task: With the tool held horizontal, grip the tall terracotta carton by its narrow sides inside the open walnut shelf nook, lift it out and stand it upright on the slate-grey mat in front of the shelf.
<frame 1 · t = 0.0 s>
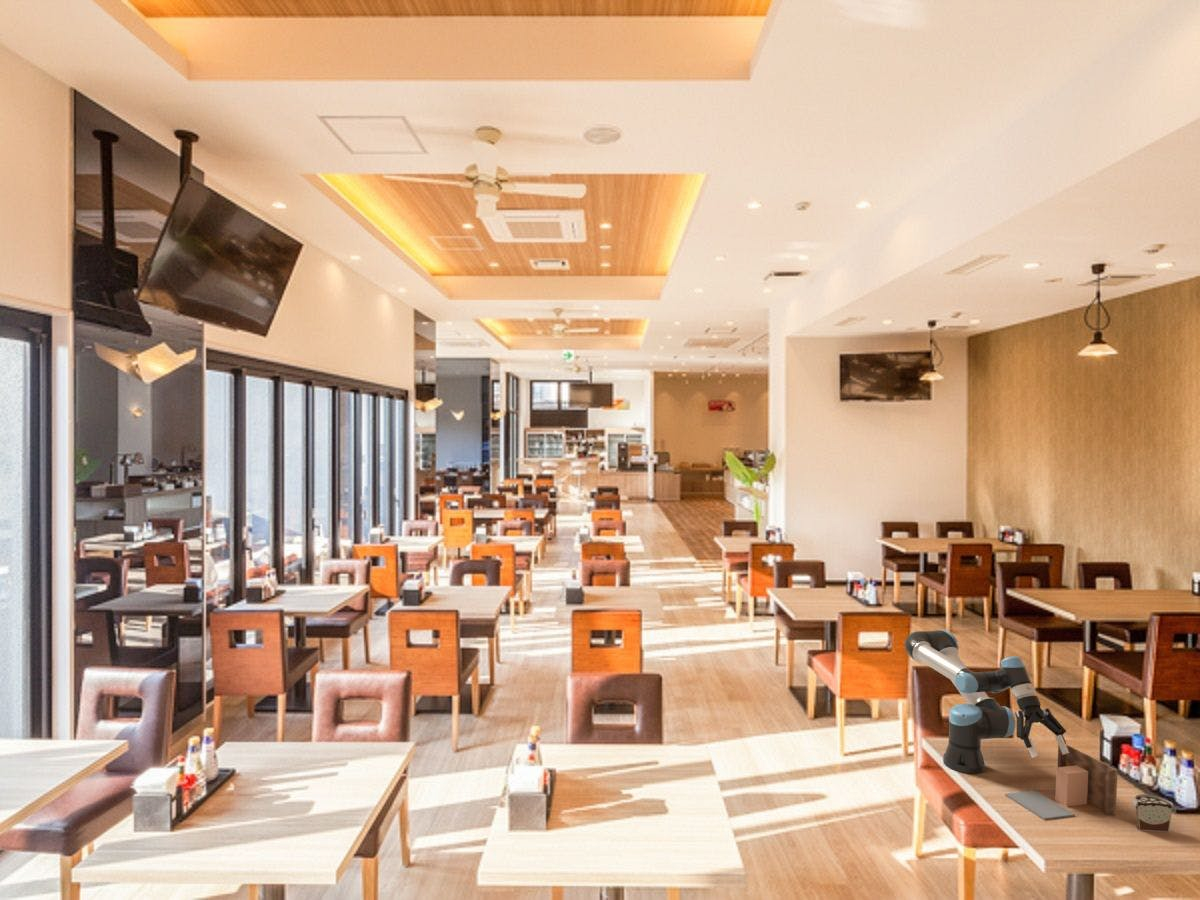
hand: (1050, 755, 284), 15 cm above the table, tool tilted 35°, fingers open, 13 cm apart
slate mat: (1039, 805, 277), on the table
shelf nook: (1086, 778, 281), on the table
food container: (1148, 827, 264), on the table
carton: (1071, 801, 280), on the table
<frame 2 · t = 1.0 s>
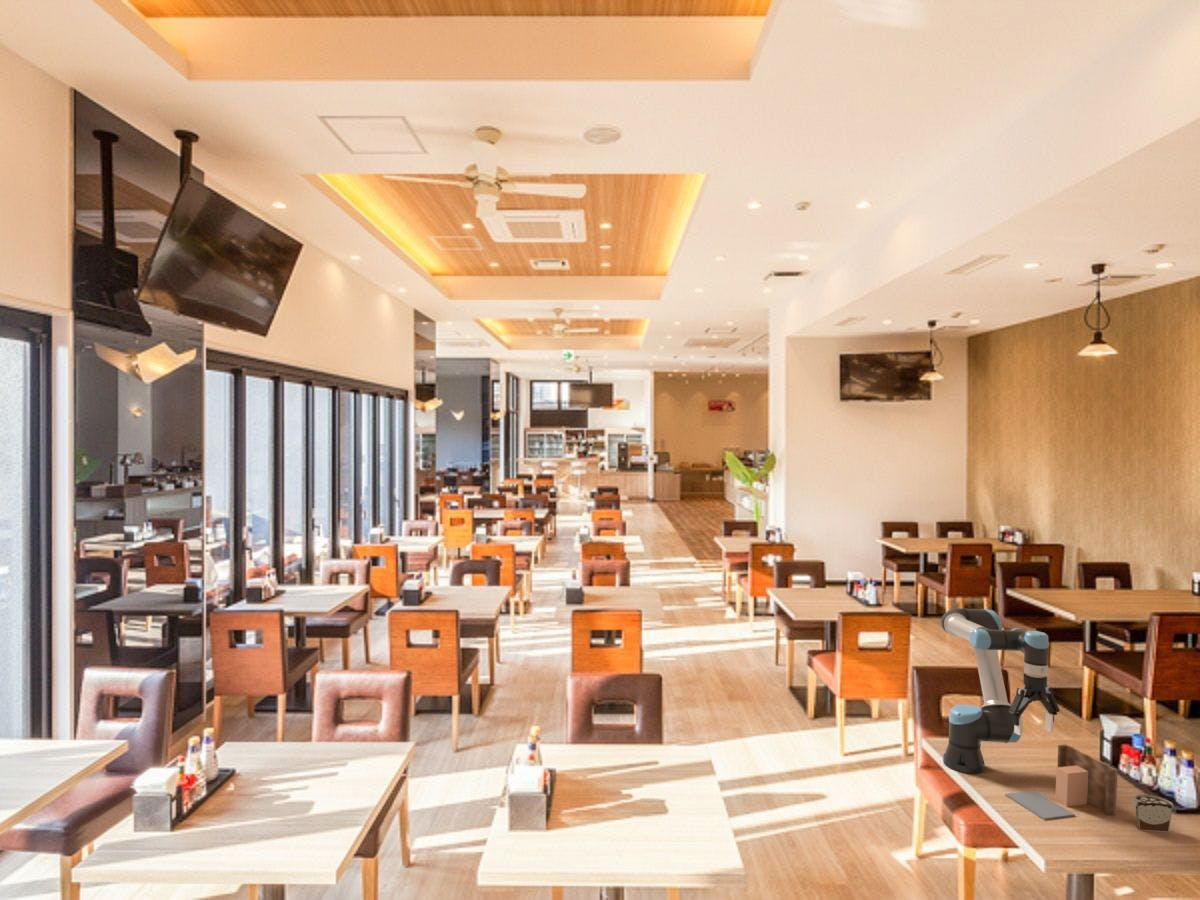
hand: (1033, 732, 280), 25 cm above the table, tool pointing down, fingers open, 13 cm apart
nothing on the table moved.
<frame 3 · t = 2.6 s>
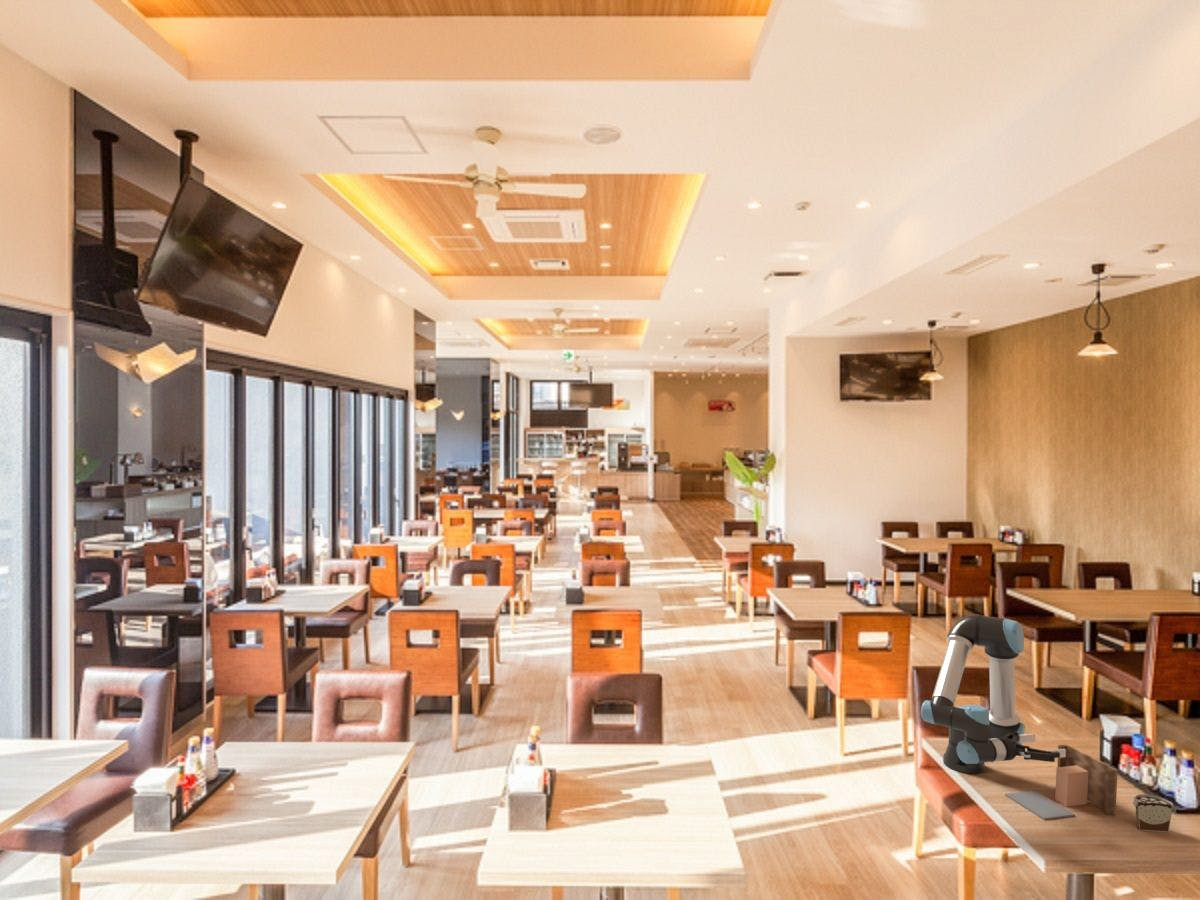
hand: (1049, 745, 277), 22 cm above the table, tool horizontal, fingers open, 13 cm apart
nothing on the table moved.
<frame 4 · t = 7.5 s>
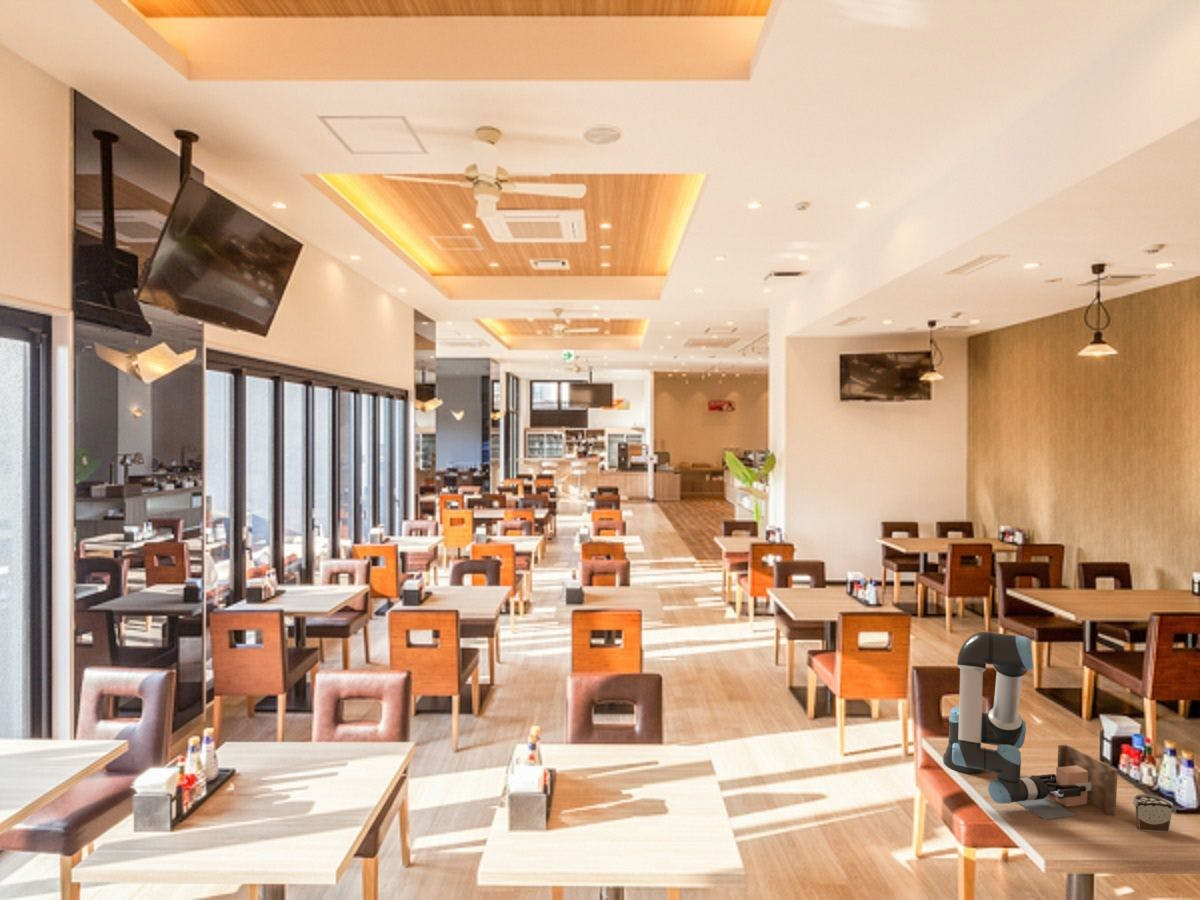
hand: (1083, 782, 281), 7 cm above the table, tool horizontal, fingers closed on carton, 5 cm apart
carton: (1071, 801, 280), on the table, touching gripper
everything else where it was.
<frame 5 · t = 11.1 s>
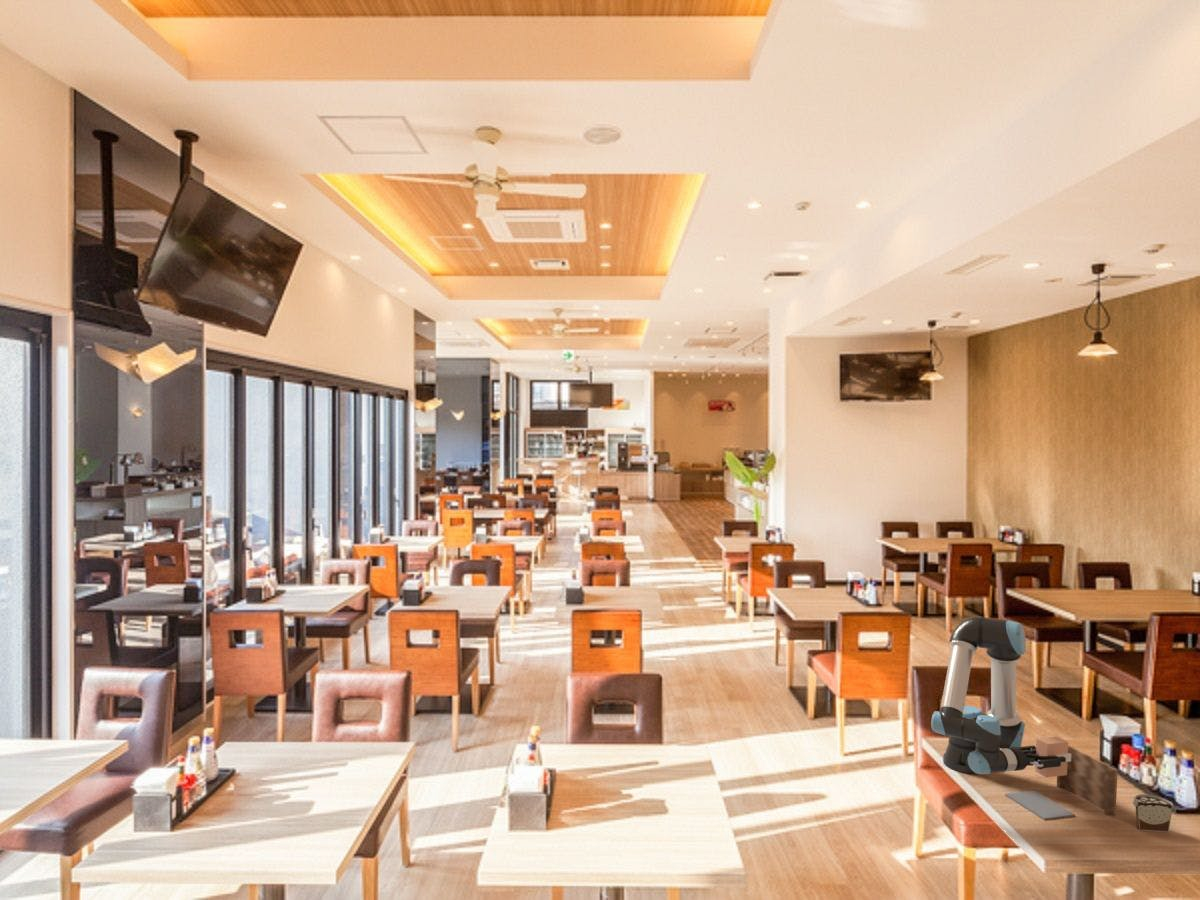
hand: (1063, 754, 278), 18 cm above the table, tool horizontal, fingers closed on carton, 5 cm apart
carton: (1050, 773, 277), point 12 cm above the table, touching gripper
everything else where it was.
when the fingers open (8 cm above the table, at t = 14.6 s): carton drops 1 cm, resting on slate mat.
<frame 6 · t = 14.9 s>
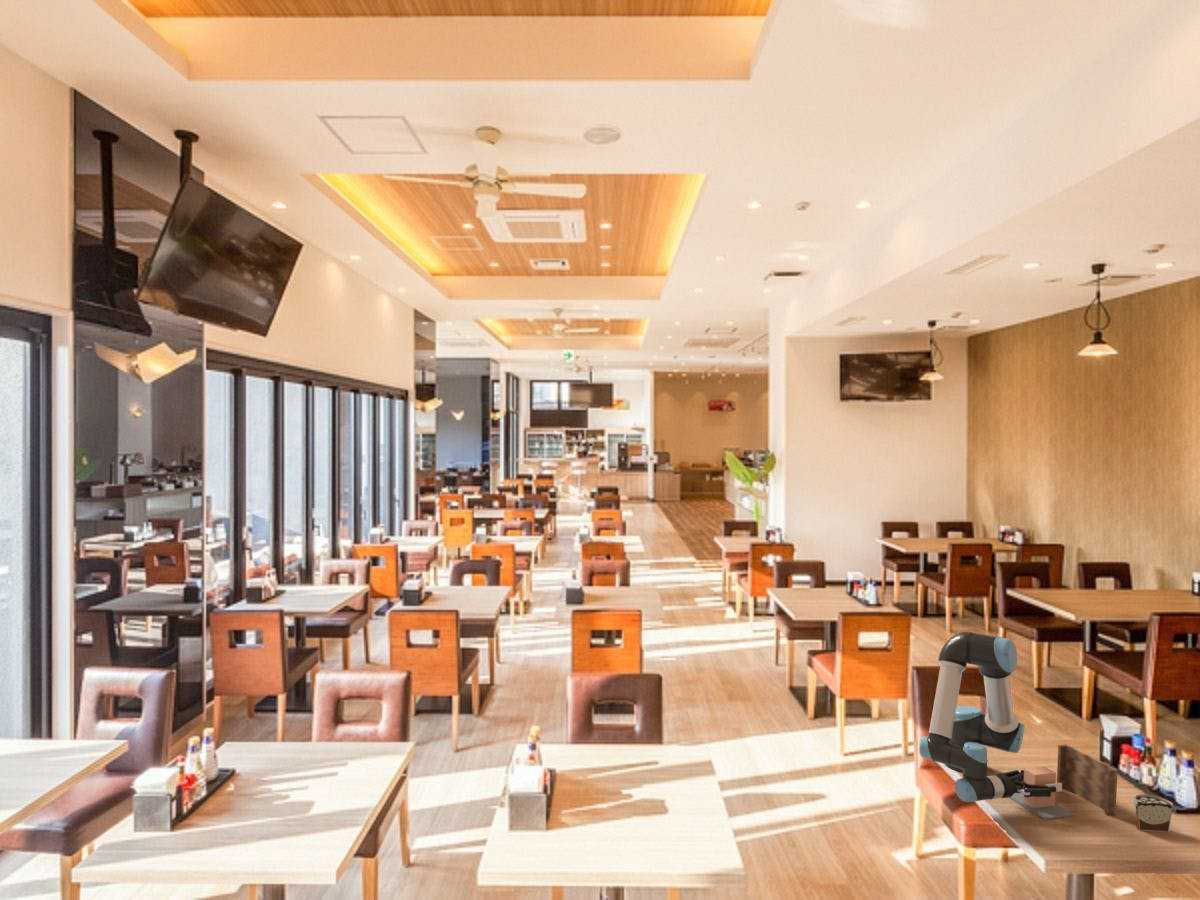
hand: (1050, 781, 278), 8 cm above the table, tool horizontal, fingers open, 8 cm apart
carton: (1038, 803, 277), point 1 cm above the table, touching slate mat
everything else where it was.
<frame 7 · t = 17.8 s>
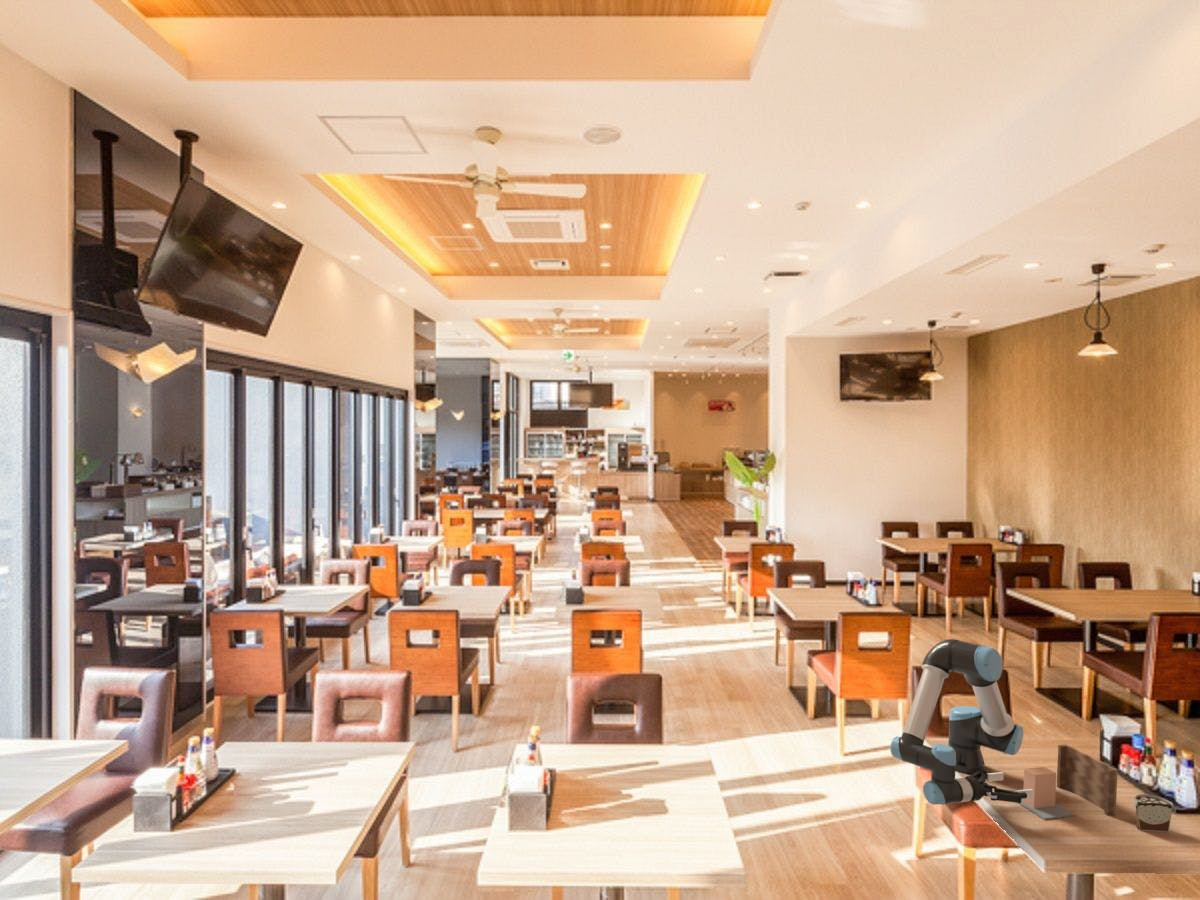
hand: (1017, 784, 274), 9 cm above the table, tool horizontal, fingers open, 13 cm apart
nothing on the table moved.
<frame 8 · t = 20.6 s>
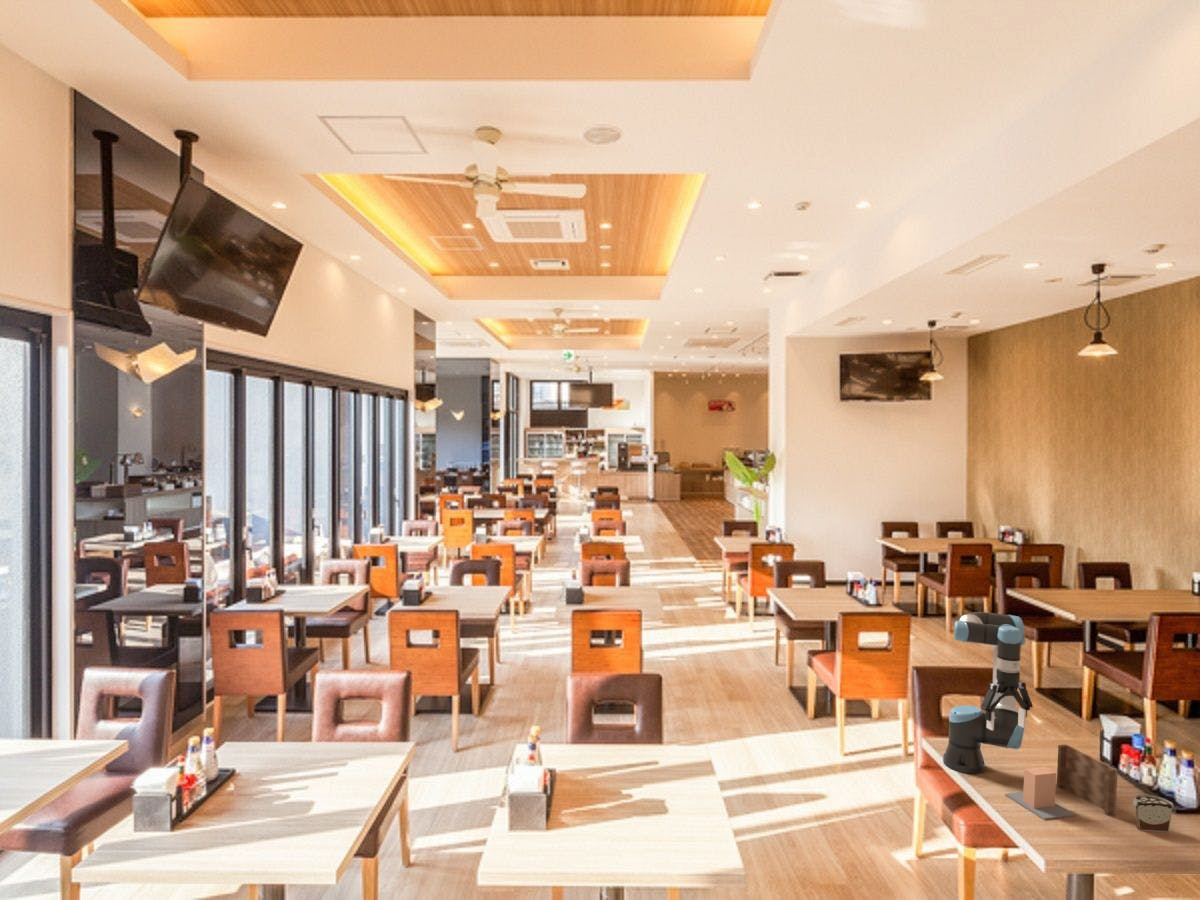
hand: (1005, 727, 279), 27 cm above the table, tool pointing down, fingers open, 13 cm apart
nothing on the table moved.
at the end: carton inside the target area (0.0 cm from its centre), point 0.6 cm above the table; carton tilted 0°; the gripper is holding nothing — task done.
